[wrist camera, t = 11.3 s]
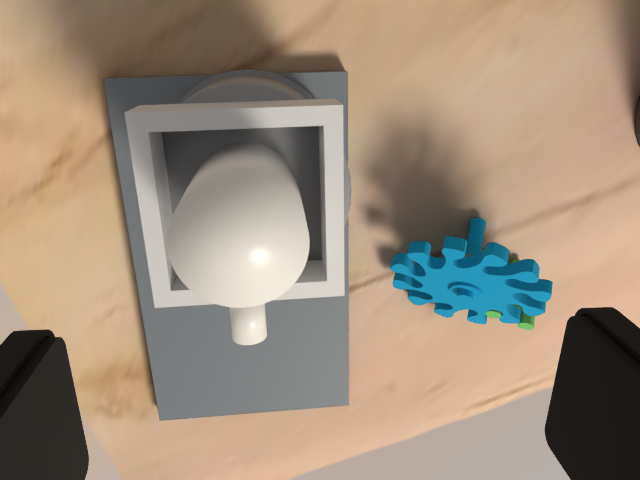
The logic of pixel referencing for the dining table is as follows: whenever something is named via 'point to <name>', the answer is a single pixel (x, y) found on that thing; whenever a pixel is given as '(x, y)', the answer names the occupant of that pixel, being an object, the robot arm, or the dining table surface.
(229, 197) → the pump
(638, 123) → the pillar candle
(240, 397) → the motor stand
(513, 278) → the gear
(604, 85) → the dining table surface
